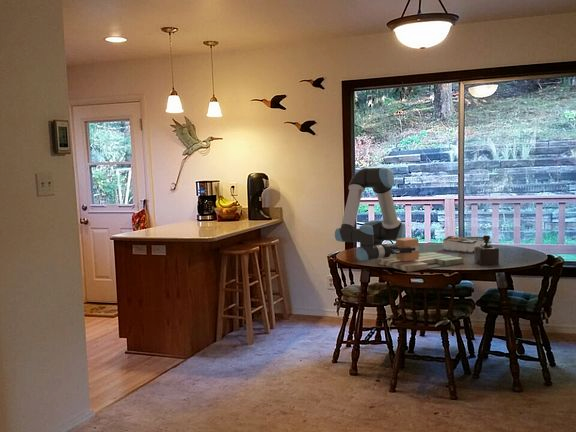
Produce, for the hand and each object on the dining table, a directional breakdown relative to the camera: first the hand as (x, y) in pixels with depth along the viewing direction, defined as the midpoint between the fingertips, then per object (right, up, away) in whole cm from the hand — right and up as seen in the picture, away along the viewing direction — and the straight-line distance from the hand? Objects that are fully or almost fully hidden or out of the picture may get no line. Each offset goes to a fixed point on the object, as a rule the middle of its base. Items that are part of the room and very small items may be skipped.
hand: (413, 247), depth 325 cm
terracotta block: (-4, -7, -1) cm, 8 cm away
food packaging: (+44, -4, +47) cm, 64 cm away
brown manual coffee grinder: (+41, -10, -6) cm, 43 cm away
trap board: (+5, -10, +4) cm, 12 cm away
